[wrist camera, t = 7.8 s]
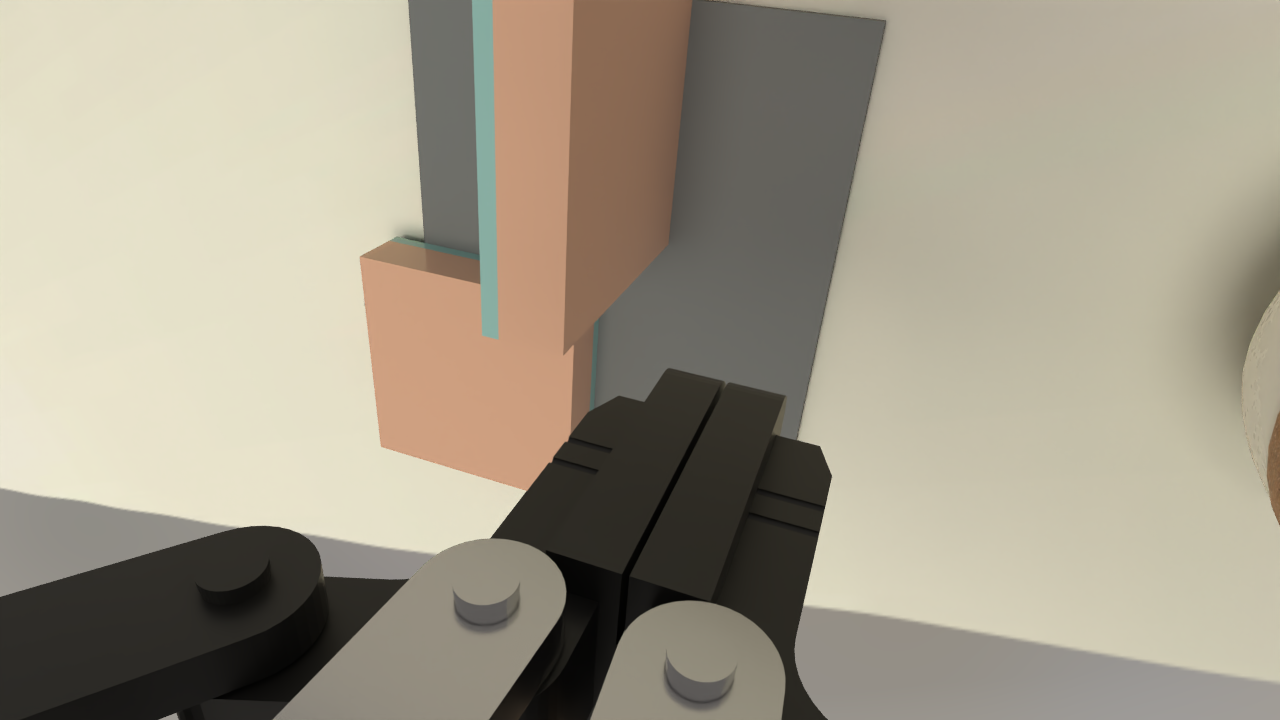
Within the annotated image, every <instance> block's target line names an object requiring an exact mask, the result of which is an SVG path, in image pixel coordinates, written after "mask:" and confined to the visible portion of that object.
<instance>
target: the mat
mask: <svg viewBox="0 0 1280 720" xmlns="http://www.w3.org/2000/svg"><path fill="white" fill-rule="evenodd" d="M408 3H409V18H410V33H411V48H412V63H413V78H414V92H415V107H416V122H417V137H418V152H419V167H420V182H421V197H422V211H423V226H424V241H425V243H428V244H432V245H437V246H441V247H446V248H450V249H455V250H460V251H464V252H469V253H473V254H478V255H480V250H479V217H478V183H477V150H476V117H475V84H474V50H473V17H472V0H408ZM885 24H886V21H885V20H876V19H867V18H858V17H850V16H841V15H832V14H823V13H814V12H806V11H797V10H788V9H779V8H771V7H762V6H753V5H744V4H735V3H727V2H718V1H709V0H692V9H691V19H690V29H689V40H688V50H687V60H686V70H685V80H684V90H683V101H682V111H681V121H680V131H679V141H678V151H677V162H676V172H675V182H674V192H673V202H672V212H671V223H670V233H669V243H668V245H667V246H666V247H665V249H664V250H663V251H662V252H661V253H660V254H659V255H658V256H657V257H656V258H655V259H654V260H653V261H652V262H651V263H650V264H649V265H648V267H647V268H646V269H645V270H644V271H643V272H642V273H641V274H640V275H639V276H638V277H637V278H636V279H635V280H634V281H633V282H632V284H631V285H630V286H629V287H628V288H627V289H626V290H625V291H624V292H623V293H622V294H621V295H620V296H619V297H618V298H617V299H616V300H615V302H614V303H613V304H612V305H611V306H610V307H609V308H608V309H607V310H606V311H605V312H604V313H603V314H602V315H601V316H600V317H599V326H598V344H597V363H596V381H595V400H594V409H595V408H597V407H598V406H600V405H602V404H604V403H606V402H608V401H610V400H611V399H613V398H615V397H617V396H623V397H627V398H631V399H635V400H639V401H643V402H645V400H646V399H647V397H648V396H649V394H650V393H651V391H652V390H653V388H654V387H655V385H656V384H657V382H658V381H659V379H660V378H661V376H662V375H663V373H664V372H665V370H666V369H668V368H672V369H676V370H680V371H685V372H689V373H693V374H697V375H701V376H705V377H710V378H714V379H718V380H722V381H725V383H726V385H727V384H728V382H731V383H735V384H740V385H744V386H748V387H752V388H756V389H761V390H765V391H769V392H773V393H777V394H781V395H786V396H787V402H786V408H785V414H784V419H783V424H782V429H781V434H780V436H782V437H785V438H789V439H793V440H797V436H798V431H799V426H800V421H801V417H802V412H803V407H804V403H805V398H806V393H807V389H808V384H809V379H810V375H811V370H812V365H813V361H814V356H815V351H816V347H817V342H818V337H819V333H820V328H821V323H822V319H823V314H824V309H825V305H826V300H827V295H828V291H829V286H830V281H831V277H832V272H833V267H834V262H835V258H836V253H837V248H838V244H839V239H840V234H841V230H842V225H843V220H844V216H845V211H846V206H847V202H848V197H849V192H850V188H851V183H852V178H853V174H854V169H855V164H856V160H857V155H858V150H859V146H860V141H861V136H862V132H863V127H864V122H865V117H866V113H867V108H868V103H869V99H870V94H871V89H872V85H873V80H874V75H875V71H876V66H877V61H878V57H879V52H880V47H881V43H882V38H883V33H884V29H885Z"/></svg>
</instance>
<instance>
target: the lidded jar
mask: <svg viewBox="0 0 1280 720" xmlns="http://www.w3.org/2000/svg"><path fill="white" fill-rule="evenodd" d="M1242 414H1243V420H1244V425H1245V431H1246V436H1247V441H1248V444H1249V448H1250V452H1251V455H1252V459H1253V461H1254V463H1255V466H1256V468H1257V471H1258V473H1259V475H1260V478H1261V480H1262V482H1263V485H1264V487H1265V489H1266V491H1267V493H1268V495H1269V497H1270V500H1271V505H1272V508H1273V511H1274V513H1275V516H1276V518H1277V520H1278V523H1279V525H1280V290H1279V292H1278V293H1277V295H1276V296H1275V298H1274V299H1273V300H1272V302H1271V303H1270V305H1269V306H1268V307H1267V309H1266V310H1265V312H1264V314H1263V316H1262V318H1261V320H1260V322H1259V325H1258V327H1257V329H1256V331H1255V333H1254V335H1253V337H1252V340H1251V343H1250V345H1249V349H1248V353H1247V356H1246V360H1245V364H1244V368H1243V376H1242Z"/></svg>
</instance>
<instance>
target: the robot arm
mask: <svg viewBox="0 0 1280 720" xmlns="http://www.w3.org/2000/svg"><path fill="white" fill-rule="evenodd" d="M786 402H787V396H786V395H781V394H777V393H773V392H769V391H765V390H761V389H756V388H752V387H748V386H744V385H740V384H735V383H731V382H728V384H727V385H726V383H725V381H722V380H718V379H714V378H710V377H705V376H701V375H697V374H693V373H689V372H685V371H680V370H676V369H672V368H668V369H666V370H665V372H664V373H663V375H662V376H661V378H660V379H659V381H658V382H657V384H656V385H655V387H654V388H653V390H652V391H651V393H650V394H649V396H648V397H647V399H646V400H645V402H643V401H639V400H635V399H631V398H627V397H623V396H617V397H615V398H613V399H611V400H610V401H608V402H606V403H604V404H602V405H600V406H598V407H597V408H595V409H593V410H591V411H589V412H587V414H586V415H585V416H584V418H583V419H582V420H581V421H580V423H579V424H578V425H577V427H576V428H575V429H574V431H573V432H572V433H571V434H570V436H569V439H568V442H564V444H563V445H562V446H561V447H560V449H559V450H558V451H557V453H556V454H555V455H554V456H553V460H552V463H550V462H549V463H548V464H547V466H546V467H545V468H544V469H543V471H542V472H541V473H540V475H539V476H538V477H537V479H536V480H535V481H534V482H533V484H532V485H531V486H530V488H529V489H528V490H527V491H526V493H525V494H524V495H523V497H522V498H521V499H520V501H519V502H518V503H517V504H516V506H515V507H514V508H513V510H512V511H511V512H510V514H509V515H508V516H507V517H506V519H505V520H504V521H503V523H502V524H501V525H500V526H499V528H498V529H497V530H496V532H495V533H494V534H493V536H492V537H491V538H490V539H479V540H474V541H469V542H464V543H461V544H458V545H455V546H453V547H451V548H448V549H446V550H444V551H442V552H440V553H439V554H437V555H436V556H434V557H433V558H431V559H430V560H429V561H428V562H427V563H425V564H424V565H423V566H422V567H421V568H420V569H419V570H418V571H417V572H416V573H415V574H414V575H413V576H412V577H411V578H410V579H404V580H403V579H402V580H386V579H365V578H343V577H324V576H323V569H322V564H321V559H320V555H319V552H318V551H317V549H316V547H315V545H314V544H313V543H312V542H311V541H310V540H309V539H307V538H306V537H304V536H303V535H301V534H300V533H297V532H295V531H292V530H289V529H285V528H280V527H272V526H251V527H244V528H237V529H233V530H229V531H225V532H221V533H217V534H214V535H211V536H207V537H204V538H201V539H197V540H193V541H190V542H187V543H183V544H180V545H176V546H173V547H170V548H166V549H163V550H160V551H156V552H152V553H149V554H146V555H142V556H139V557H135V558H132V559H129V560H126V561H122V562H119V563H115V564H112V565H108V566H104V567H101V568H98V569H95V570H91V571H87V572H84V573H81V574H77V575H74V576H70V577H67V578H63V579H60V580H57V581H53V582H50V583H46V584H43V585H40V586H36V587H33V588H29V589H26V590H23V591H19V592H16V593H12V594H9V595H6V596H2V597H0V720H159V719H161V718H163V717H166V716H169V715H172V714H174V713H177V716H178V718H179V720H828V719H827V718H825V716H823V714H822V713H821V712H820V711H819V710H818V708H817V707H816V706H815V705H814V703H813V702H812V700H811V699H810V697H809V696H808V694H807V692H806V691H805V689H804V687H803V684H802V682H801V680H800V678H799V675H798V671H797V668H796V663H795V653H794V648H795V639H796V634H797V630H798V625H799V621H800V616H801V612H802V608H803V603H804V599H805V594H806V590H807V585H808V581H809V576H810V572H811V567H812V563H813V559H814V554H815V550H816V545H817V541H818V536H819V532H820V527H821V523H822V518H823V514H824V509H825V505H826V501H827V496H828V492H829V487H830V483H831V478H832V475H831V473H830V470H829V468H828V465H827V463H826V460H825V458H824V455H823V453H822V450H821V448H820V446H817V445H813V444H809V443H805V442H801V441H797V440H793V439H789V438H785V437H782V436H780V434H781V429H782V424H783V419H784V414H785V408H786Z"/></svg>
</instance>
